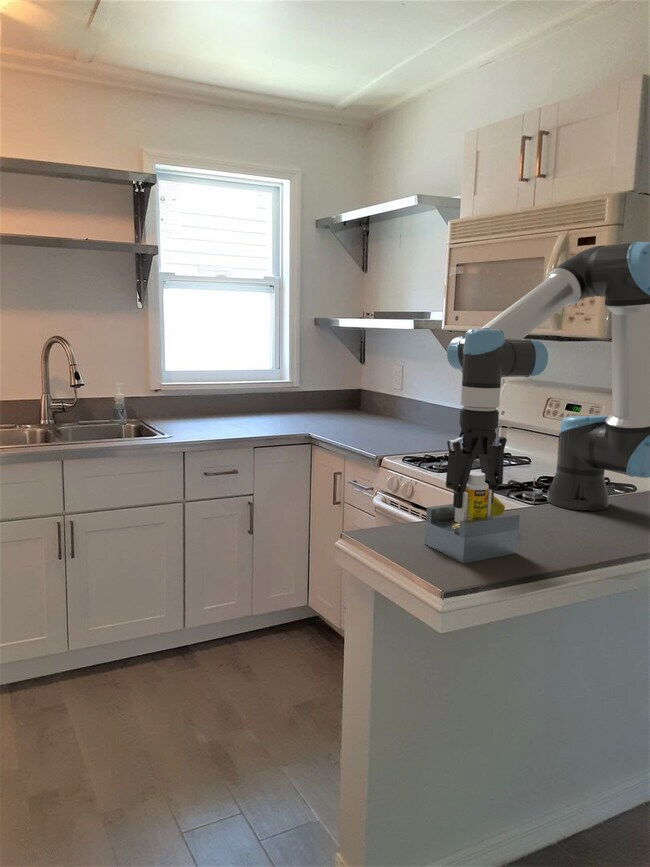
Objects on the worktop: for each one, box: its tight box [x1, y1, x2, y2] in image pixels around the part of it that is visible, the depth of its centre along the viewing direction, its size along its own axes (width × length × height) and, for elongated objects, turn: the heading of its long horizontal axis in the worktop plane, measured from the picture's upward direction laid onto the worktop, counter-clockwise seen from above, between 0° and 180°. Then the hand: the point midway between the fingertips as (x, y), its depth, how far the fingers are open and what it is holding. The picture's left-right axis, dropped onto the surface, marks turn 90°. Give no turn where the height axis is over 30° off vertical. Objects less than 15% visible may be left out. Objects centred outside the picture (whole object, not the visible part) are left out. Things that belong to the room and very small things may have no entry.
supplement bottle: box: [465, 470, 489, 520], centre depth 137 cm, size 6×6×10 cm
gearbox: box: [424, 503, 521, 564], centre depth 138 cm, size 14×12×8 cm
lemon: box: [490, 495, 506, 516], centre depth 154 cm, size 11×8×8 cm
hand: (472, 520), depth 137 cm, fingers closed on supplement bottle, 6 cm apart
